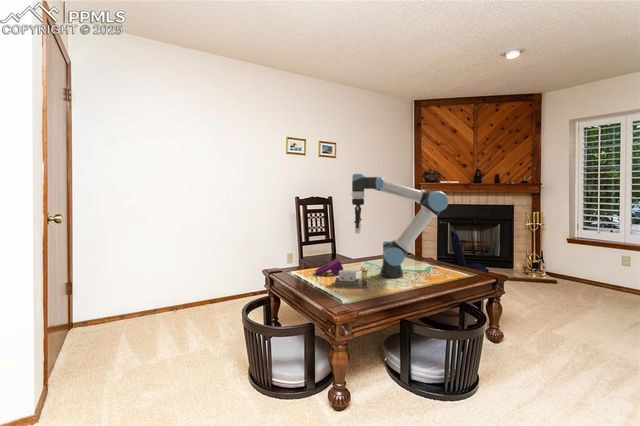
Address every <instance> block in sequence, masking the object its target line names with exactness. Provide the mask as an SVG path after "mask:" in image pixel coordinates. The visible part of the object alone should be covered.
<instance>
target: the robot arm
mask: <svg viewBox="0 0 640 426" xmlns="http://www.w3.org/2000/svg"><path fill="white" fill-rule="evenodd" d="M351 178H352V179H351V187H352V189H351V191H352V192H351V193H350V195H351V196H352V197H351V198H352V199H351V204H352V206H353V205H354V206H355V207H354V215H355V216H354V221H353V224H354V233H355V234H361V225H362V224H361V222H362V217H361V213H362V207H361V206H364V205H365V199H364V198H365V190H375V191H379V192H381V193H382V192H383V193H384V194H389V195H393V196H396V197H399V198H403V199H406V200H409V201H412V202H416V203H417V204H418V205H420V210H419V211H418V212H417V213H416V215H415V216H414V218H413V219H412V220H411V221H410V223H409V224H408V225H407V226H406V228H405V229H404V230H403V231H402V232H401V234H400V235H399V236H398V238H397V239H393V240H390V241H389V240H388V241H383V243H382V265H381V267H380V271H379V274H380V275H379V276H381V277H383V278H388V279H399V278H402V277H404V272H403V271H404V270H403V268H402V263H403V262H404V261H405V257H406V256H407V255H408V253H409V252H410V250H409V249H410V247H411V245H412V244H413V243H414V242H415V241H416V239H417V238H418V237H419V236H420V235H421V232H423V230H424V229H425V228H426V227H427V226H428V224H429V222H430V221H431V220H432V219H433V218H436V217H438V216H439V214H441V212H442V211H444V210H446V209H447V207H448V205H449V197H448V196H447V194H446V193H445V192H443V191H439V190H434V191H433V190H426V189H420V190H419V189H416V188H412V187H410V186H409V187H408V186H404V185H403V184H398V183H395V182H391V181H387V180H385V179H384V177H382V176H366V175H365V173H353V174H352V177H351Z"/></svg>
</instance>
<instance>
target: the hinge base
mask: <svg viewBox="0 0 640 426" xmlns="http://www.w3.org/2000/svg"><path fill="white" fill-rule="evenodd" d="M360 271H361V278H356V283H345V282H339V277H336V278H335V279H334V282H333V287H334V288H346V287H351V288H352V289H367V290H368V289H369V280H368V271H369V268H367V267H361V268H360ZM351 288H350V289H351Z"/></svg>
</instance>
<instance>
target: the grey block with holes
mask: <svg viewBox="0 0 640 426" xmlns="http://www.w3.org/2000/svg"><path fill="white" fill-rule="evenodd" d="M338 278H339V282H345V283H356V279H357V271H356V270H351V269H350V270H349V269H348V270H347V269H346V270H345V269H343V270H339V275H338Z"/></svg>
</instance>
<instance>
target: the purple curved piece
mask: <svg viewBox="0 0 640 426" xmlns="http://www.w3.org/2000/svg"><path fill="white" fill-rule="evenodd" d="M339 270H344V266H343V265H342V263H341V261H340V260H339V259H338V258H335V259H334V260H331V261H329V262H327V263H326V264H323V265H321V266H320V267H318V268H317V269H316V270H314V273H315V275H317V276H320V275H324V273H327V272H328V271H330V272H332V274H333V275H334V276H339Z"/></svg>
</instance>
